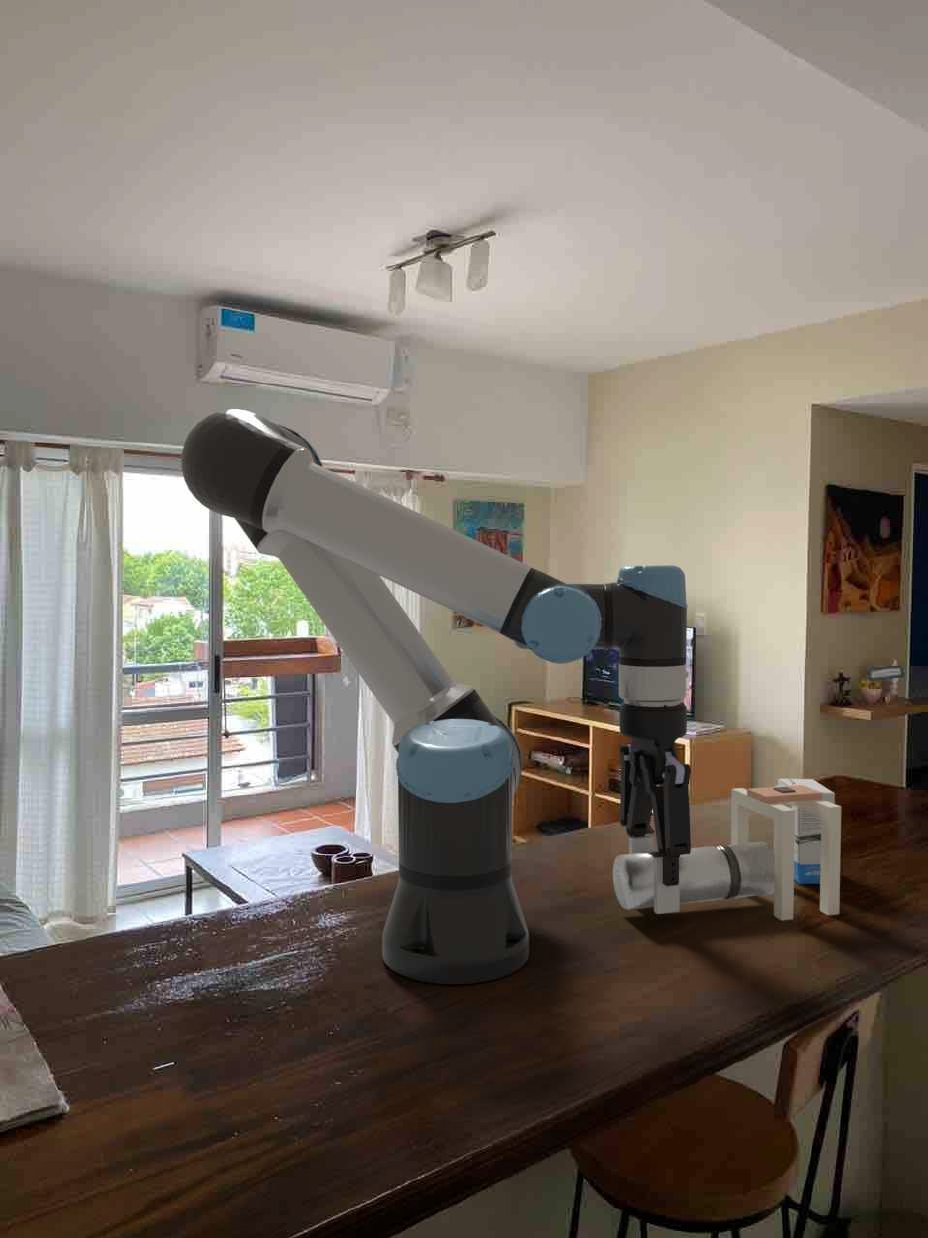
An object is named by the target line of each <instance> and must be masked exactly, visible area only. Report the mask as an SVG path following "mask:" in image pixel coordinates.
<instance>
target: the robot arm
mask: <svg viewBox="0 0 928 1238" xmlns="http://www.w3.org/2000/svg"><path fill="white" fill-rule="evenodd" d="M183 444H184V445H183V447H182V451H181V461H180V462H181V463H180V465H181V471H182V472H181V473H182V475H183V478H184V479H183V480H184V483H185V484H186V486H187V489H188V490H189V492H190V493H191V495H192V496H193V497H194V499H196V501H198V502H199V503H200V504H201V506H204V507H205V508H206V509H208V510H210V511H211V512H213V513H216V514H219V515H221V516H226V517H228V518H233V519H234V520H235V521H236V522H237V524H238V525H239V527H240V529H241V530H242V531H243V532H244V534H245V535H246V536H247V538H248V540H250V541H249V542H251V544H252V545H253V547H254V548H255V549H256V551H257V552H258V554H261V555H266V556H271V557H275V558H277V559H278V560H279V561H280V562H281V564H282V565H283V567H284V568H285V570H286V571H287V573H288V574H289V575H290V577H291V578H292V580H293V582H294V583H295V584H296V586H297V587H298V588H299V590H300V591H301V593H302V594H303V595H304V597H305V598H306V600H307V601H308V603H309V605H310V606H311V607H312V609H313V610H314V611H315V613H316V615H318V617H319V619H320V620H321V622H322V623H323V625H324V626H325V627H326V628H327V630H328V631H329V633H330V635H331V636H332V638H333V639H334V640H335V641H336V643H337V644H338V646H339V647H340V648H341V650H342V651H343V653H344V654H345V656H346V658H348V660H349V662H350V663H351V665H352V666H353V667H354V669H355V670H356V672H357V673H358V675H359V676H360V677H361V679H362V681H363V682H364V683H365V685H366V686H367V688H368V689H369V690H370V693H372V695H373V696H374V698H375V699H376V700H377V702H378V703H379V705H380V706H381V707H382V709H383V710H384V713H386V715H387V716H388V717H389V719H390V720H391V722H392V723H393V734H392V739H391V744H392V746H393V748H394V749H395V751H396V752H397V753H398V755H397V758H396V761H395V770H396V776H397V800H398V801H397V803H398V804H397V805H398V806H397V807H398V808H397V809H398V810H397V811H398V812H397V813H398V814H397V815H398V820H397V821H398V822H397V823H398V881H397V882H398V883H397V885H396V889H395V893H394V896H393V898H392V902H391V906H390V908H389V912H388V914H387V918H386V921H385V924H384V927H383V931H382V937H381V942H382V943H381V944H382V947H381V949H382V953H381V954H382V959H383V963H384V964H385V965H386V966H387V967H388V968H389V969H390V970H392V971H393V972H395V973H396V974H399V975H401V976H403V977H406V978H409V979H412V980H414V981H415V980H416V981H420V982H425V983H431V984H440V985H468V984H469V985H470V984H471V985H472V984H478V983H484V982H490V981H493V980H494V981H495V980H497V979H501V978H504V977H506V976H508V975H511V974H513V973H515V972H517V971H518V970H519V969H521V968H522V967H523V966H525V964H526V963H527V962H528V959H529V957H530V956H529V954H530V935H529V934H530V933H529V930H528V927H527V924H526V920H525V917H524V914H523V911H522V908H521V904H520V902H519V898H518V896H517V895H518V894H517V892H516V890H515V889H516V888H515V885H514V882H513V874H512V873H513V872H512V871H513V869H512V868H513V866H512V864H513V863H512V860H513V857H512V855H513V854H512V853H513V852H512V851H513V849H512V848H513V845H512V844H513V842H512V841H513V838H512V837H513V832H512V831H513V830H512V829H513V824H512V823H513V822H512V821H513V819H512V818H513V817H512V815H513V801H514V797H515V794H516V791H517V790H518V787H519V785H520V782H521V779H522V771H523V756H522V751H521V749H520V744H519V742H518V739H517V738H516V736H515V733H513V731H512V730H511V728H510V727H509V726H508V725H506V723H505V722H504V721H503V720H501V719H499V717H497V716H496V715H494V714H493V713H492V711H491V710H490V709H489V707H488V706H487V705H486V703H485V702H484V700H483V699H482V698H481V696H480V695H479V693H478V692H477V691H476V689H475V688H474V687H473V686H472V685H467V684H462V683H458V682H456V681H454V680H453V678H452V676H450V674H449V673H448V672H447V670H446V668H445V667H444V666H443V664H442V663H441V661H440V660H439V659H438V657H437V655H436V654H435V653H434V651H433V650H432V648H431V647H430V646H429V644H428V643H427V642H426V640H425V638H424V637H423V636H422V634H421V632H420V631H419V630H418V628H417V627H416V626H415V624H414V623H413V621H412V619H410V617H409V615H408V614H407V613H406V611H405V609H404V608H403V607H402V606H401V604H400V603H399V601H398V600H397V598H396V596H395V595H394V594H393V593H392V591H391V590H390V589H389V587H388V586H387V584H386V583H385V581H384V580H383V579H382V578H384V579H386V580H388V581H391V582H392V583H394V584H396V585H398V586H401V587H403V588H405V589H406V590H409V591H411V592H413V593H415V594H417V595H420V596H421V597H423V598H425V599H428V600H430V601H432V602H433V603H436V604H438V605H440V606H442V607H444V608H446V609H449V610H451V611H452V612H454V613H457V614H458V615H461V616H463V617H465V618H467V619H469V620H471V621H473V622H476V623H477V624H480V625H482V626H484V627H486V628H487V629H489V630H492V631H494V632H496V633H498V634H500V635H502V636H504V637H505V638H507V639H509V640H511V641H513V642H514V644H515V646H516V647H517V648H519V649H521V650H530V651H531V652H532V653H533V654H534V655H535V656H536V657H538V658H540V659H542V660H544V661H547V662H549V663H553V664H557V665H559V664H560V665H561V664H562V665H563V664H564V665H565V664H569V663H573V662H575V661H579V660H581V659H582V658H584V657H585V656H587V655H588V654H589V653H590V652H591V650H618V652H619V657H618V659H619V663H618V697H619V698H620V699H622V700H623V702H621V703H620V704H619V713H618V714H619V723H618V724H619V732H620V734H621V735H622V736H624V737H625V738H629V739H631V740H630V744H621V745H620V746H619V747H618V748H619V749H618V750H619V751H618V752H619V757H620V758H619V759H620V797H619V799H620V801H619V804H620V805H619V823H620V824H619V825H620V826H621V827H625V830H626V831H625V833H626V835H627V836H628V854H635V853H646V852H652V855H653V857H654V907H653V911H654V913H655V914H657V915H659V914H660V915H662V914H670V913H680V909H681V908H680V905H681V904H680V901H679V857H680V855H685V854H690V853H691V848H692V845H691V844H692V843H691V841H692V838H691V837H692V836H691V814H690V813H691V811H690V809H691V807H690V806H691V805H690V779H691V773H692V768H691V765H690V764H689V763H680V762H679V760H678V754H677V749H676V741H677V740H678V739H681V738H683V737H685V736H686V735H687V732H688V707H687V705H686V704H685V702H681V701H683V700H684V699H685V698H686V697H687V679H688V677H689V674H690V673H689V672H688V671H687V645H688V644H687V643H688V641H687V640H688V639H687V638H688V637H687V635H688V634H687V633H688V631H687V630H688V628H687V627H688V626H687V625H688V623H687V622H688V606H689V605H688V604H687V592H686V590H687V589H686V587H687V585H686V575H685V572H684V571H683V570H682V568H681V567H680V566H677V565H672V564H671V565H670V564H669V565H668V564H667V565H623V566H622V567H621V568H619V571H618V577H617V578H616V582H610V583H609V582H608V583H603V584H602V583H566V582H564V581H562V580H560V579H558V578H555V577H554V576H552V575H549V574H547V573H545V572H543V571H541V570H538V569H535V568H533V567H532V566H530V565H528V564H526V563H524V562H522V561H519V560H518V559H515V558H513V557H511V556H510V555H507V554H505V553H502V552H501V551H499V550H497V549H495V548H493V547H491V546H488V545H487V544H484V543H482V542H480V541H478V540H476V539H474V538H472V537H469V536H468V535H465V534H463V533H461V532H459V531H457V530H455V529H453V528H451V527H449V526H447V525H446V524H445V525H444V524H442V523H441V522H438V521H436V520H434V519H432V518H430V517H428V516H426V515H424V514H422V513H419V512H418V511H415V510H413V509H411V508H410V507H407V506H405V505H403V504H401V503H398V502H396V501H394V500H393V499H390V498H388V497H386V496H384V495H382V494H380V493H378V492H376V491H374V490H372V489H369V488H367V487H365V486H363V485H361V484H360V483H357V482H354V481H353V480H350V479H348V478H346V477H344V476H342V475H341V474H337V473H336V472H334V471H333V470H329V469H328V468H326V467H324V465H323V463H322V460H321V459H320V457H319V455H318V453H317V451H316V449H315V448H314V447H313V446H312V444H311V443H310V442H309V441H308V440H307V439H306V438H305V437H303V436H301V434H299V432H296V431H294V430H293V429H291V428H290V427H287V426H284V425H281V424H278V423H275V422H273V421H271V420H269V419H267V418H265V417H263V416H261V415H260V414H257V413H254V412H253V411H248V410H245V409H243V410H242V409H225V410H221V411H217V412H214V413H211V414H210V415H207V416H206V417H205V418H203V419H201V420H200V421H199V422H196V425H195V426H194V427H193V428H192V429H191V431H190V432H189V433H188V435H187V436H186V438H185V441H184V443H183ZM652 817H653V822H654V828H653V827H652V826H651V820H652ZM653 834H655V839H656V846H657V851H658V852H656V851H654V837H653V836H651V835H653ZM646 835H647V836H646Z"/></svg>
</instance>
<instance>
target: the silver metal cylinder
mask: <svg viewBox="0 0 928 1238" xmlns="http://www.w3.org/2000/svg"><path fill="white" fill-rule="evenodd" d="M655 852H658V850H657V851H655ZM612 866H613V867H612V882H613V889H614V892H615V896H616V898H617V901H618V903H619V904H620V906H621V907H622V908H623V909H624V910H634V909H644V908H652V907H653V908H654V857H653V855H652V852H646V853H635V854H629V853H625V854H618V855H617V856H615V858H614V862H613V865H612ZM774 878H775V854H774V849H772V847H771V846H770V845H769V844H768V843H766V842H764V841H755V842H748V843H743V844H732V845H731V844H720V845H713V846H712V845H711V846H702V847H691V853H690V854H685V855H680V857H679V901H680V905H682V904H691V903H701V902H708V901H709V902H710V901H718V900H719V901H720V900H723V901H724V900H732V899H737V898H738V899H739V898H746V897H748V898H749V897H755V896H756V897H757V896H764V895H765V896H766V895H772V894H774Z"/></svg>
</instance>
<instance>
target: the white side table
mask: <svg viewBox="0 0 928 1238" xmlns="http://www.w3.org/2000/svg"><path fill="white" fill-rule="evenodd" d="M730 805H731V807H730V808H731V811H730V812H731V814H730V816H731V818H730V819H731V820H730V822H731V823H730V825H731V826H730V845H732V844H743V843H749V838H750V837H749V830H750V829H749V827H750V826H749V824H750V822H749V821H750V814H749V813H750V810H751V811H753V812H755V813H758V814H759V815H762V816H764V817H765V818H766V817H767V818H768V819H770V820H772V821H773V852H774V854H775V878H774V893H773V896H774V897H773V916H774V917H775V918H777V919H778V920H780V921H790V920H794V898H795V897H794V893H795V891H794V889H795V887H794V886H795V885H794V884H795V882H794V881H795V879H794V838H795V810H793V809H792V805H793V806H796V807H798V808H800V809H803V810H805V811H808V812H810V813H813V814H815V815H817V816H820V817H821V871H820V884H819V912H821V913H823V914H825V915H826V916H834V915H835V916H837V915H840V902H841V901H840V899H841V898H840V897H841V896H840V895H841V892H840V891H841V890H840V889H841V887H840V886H841V848H842V847H841V844H842V843H841V841H842V837H841V835H842V834H841V833H842V806H841V805H838V804H836V803H835V804H833V803H830V802H828V801H825V800H823V799H822V792H819V791H817V790H814V789H811V788H809V787H806V786H803V785H796V786H786V785H781V786H778V785H774V786H770V787H769V786H768V787H756V788H747V789H746V788H744V787H737V788H731V803H730Z"/></svg>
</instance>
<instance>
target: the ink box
mask: <svg viewBox="0 0 928 1238" xmlns="http://www.w3.org/2000/svg"><path fill="white" fill-rule="evenodd" d="M777 782H778V783H777V786H781V785H786V786H796V785H803V786H806V787H809V788H811V789H814V790H817V791H819V792H822V799H823V800H825V801H828V802H830V803H833V804H836V801H835V799H836V793H835V792H834V791H832V790H830V789H829V788H827V787H825V786H824V785H823V784H820V783H819V782H818V781H816V780H815V779H811V778H778V781H777ZM792 809H793V810H795V838H794V881H795V882H797V883H798V884H799V885H817V884H819V885H820V871H821V817H820V816H817V815H815V814H813V813H810V812H808V811H805V810H803V809H800V808H798V807H796V806H793V805H792Z"/></svg>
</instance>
